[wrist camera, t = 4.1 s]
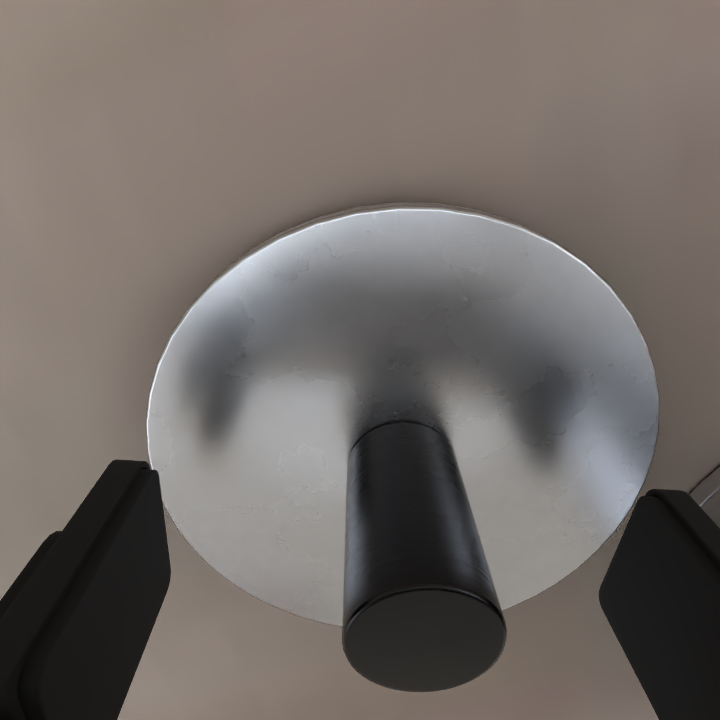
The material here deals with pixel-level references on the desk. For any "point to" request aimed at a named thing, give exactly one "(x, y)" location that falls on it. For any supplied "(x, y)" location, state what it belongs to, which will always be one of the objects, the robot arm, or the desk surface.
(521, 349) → the canister lid
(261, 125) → the desk surface
